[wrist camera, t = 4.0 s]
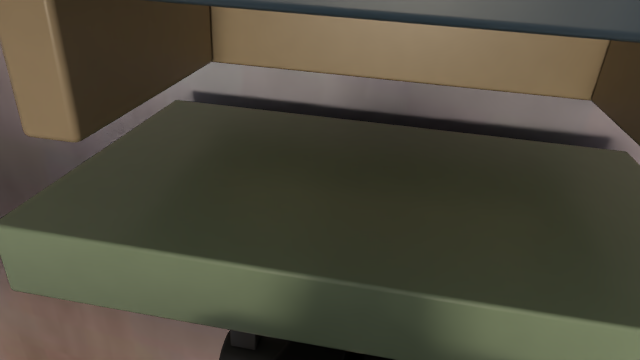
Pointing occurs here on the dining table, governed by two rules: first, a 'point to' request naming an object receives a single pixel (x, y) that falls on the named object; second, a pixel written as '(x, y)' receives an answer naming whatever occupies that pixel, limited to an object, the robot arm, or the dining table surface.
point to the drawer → (326, 188)
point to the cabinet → (472, 14)
